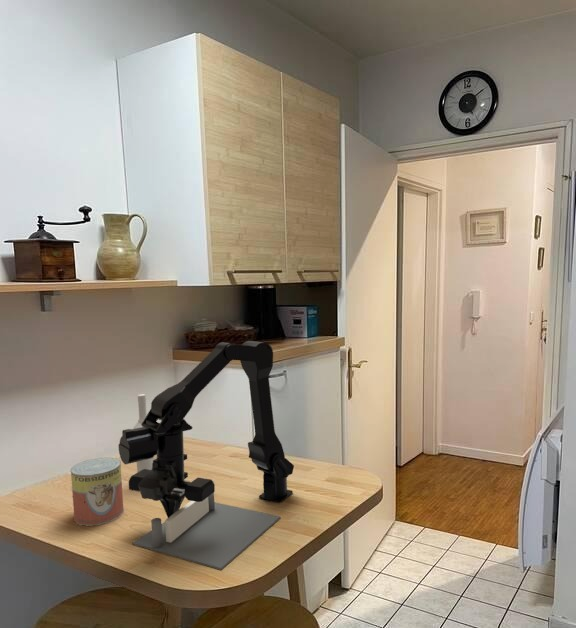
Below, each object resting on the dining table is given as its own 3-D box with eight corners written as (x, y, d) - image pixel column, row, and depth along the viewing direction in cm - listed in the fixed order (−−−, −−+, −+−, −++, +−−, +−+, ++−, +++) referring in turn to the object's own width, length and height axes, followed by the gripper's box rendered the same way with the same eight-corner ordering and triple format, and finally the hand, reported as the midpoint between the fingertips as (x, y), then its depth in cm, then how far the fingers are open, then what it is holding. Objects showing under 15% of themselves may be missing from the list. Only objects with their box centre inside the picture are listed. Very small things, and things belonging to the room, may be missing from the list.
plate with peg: (200, 500, 128) (199, 477, 127) (280, 518, 117) (279, 493, 116) (132, 544, 108) (130, 517, 107) (221, 570, 97) (219, 540, 96)
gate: (208, 506, 123) (207, 484, 122) (216, 507, 122) (215, 486, 122) (164, 541, 107) (162, 517, 106) (173, 543, 106) (171, 519, 105)
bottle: (136, 483, 141) (130, 394, 139) (155, 480, 143) (150, 392, 141) (138, 490, 136) (132, 398, 134) (158, 486, 138) (152, 395, 136)
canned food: (78, 530, 115) (75, 478, 114) (70, 512, 124) (66, 464, 123) (129, 516, 121) (126, 467, 120) (117, 500, 130) (114, 454, 129)
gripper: (109, 460, 106) (112, 532, 107) (186, 471, 99) (188, 549, 100) (143, 443, 117) (146, 509, 118) (215, 453, 110) (216, 523, 111)
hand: (172, 522), depth 111 cm, fingers closed
